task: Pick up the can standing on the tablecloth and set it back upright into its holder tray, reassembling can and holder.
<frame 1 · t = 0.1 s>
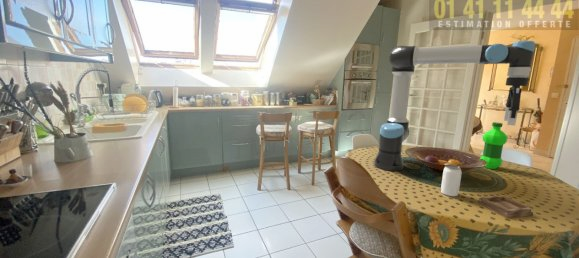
hand: (509, 123, 120), 28 cm above the table, fingers open, 13 cm apart
plastic bottle: (489, 167, 142), on the table
can: (449, 193, 110), on the table
holder: (503, 208, 97), on the table
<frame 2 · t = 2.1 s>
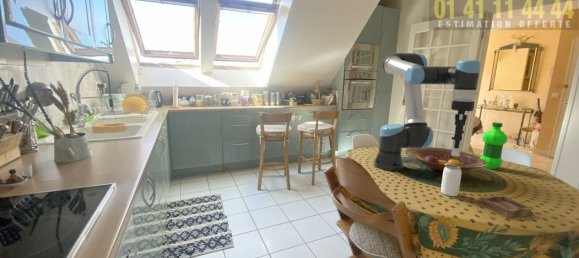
hand: (455, 151, 106), 19 cm above the table, fingers open, 13 cm apart
nothing on the table moved.
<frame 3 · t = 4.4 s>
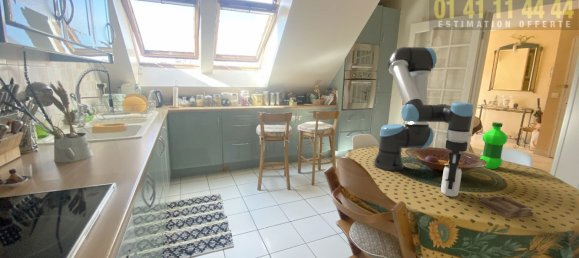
hand: (449, 192, 110), 0 cm above the table, fingers closed on can, 6 cm apart
can: (449, 193, 110), on the table, touching gripper
everything else where it was.
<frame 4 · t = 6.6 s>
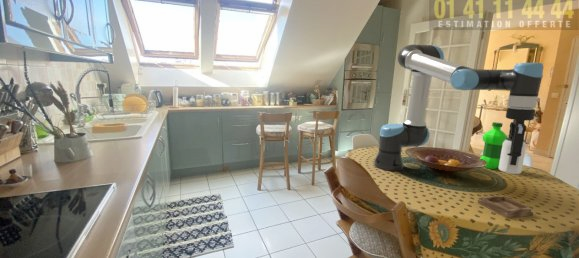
hand: (509, 170, 94), 15 cm above the table, fingers closed on can, 6 cm apart
can: (509, 171, 94), point 15 cm above the table, touching gripper
everything else where it was.
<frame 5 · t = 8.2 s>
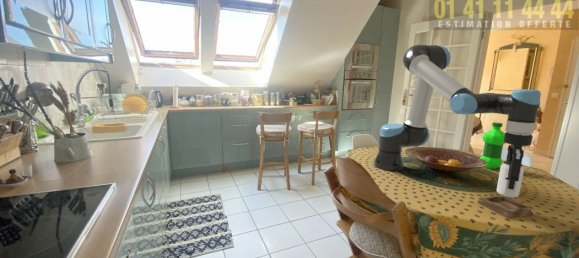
hand: (507, 192, 96), 7 cm above the table, fingers closed on can, 6 cm apart
can: (507, 194, 96), point 6 cm above the table, touching gripper
everything else where it was.
when the fingers open (3 cm above the table, at t = 9.2 s): can drops 2 cm, resting on holder.
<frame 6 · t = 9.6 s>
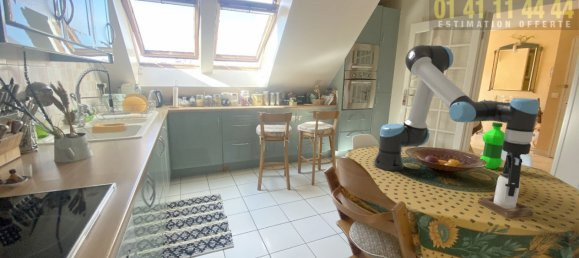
hand: (506, 196, 96), 5 cm above the table, fingers open, 12 cm apart
can: (503, 206, 97), point 1 cm above the table, touching holder
everything else where it was.
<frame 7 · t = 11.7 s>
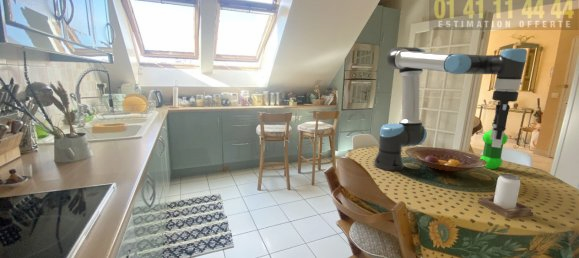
hand: (495, 143, 104), 23 cm above the table, fingers open, 13 cm apart
nothing on the table moved.
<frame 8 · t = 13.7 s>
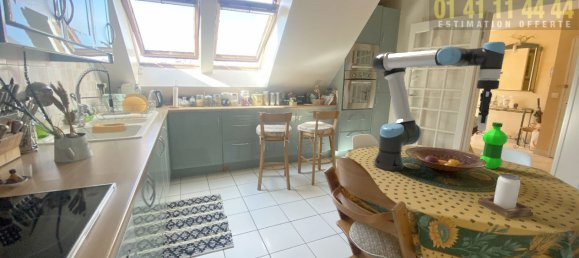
hand: (480, 128, 114), 27 cm above the table, fingers open, 13 cm apart
nothing on the table moved.
at the end: can 0.1 cm off-centre on the holder, point 0.8 cm above the holder's base; can tilted 0°; the gripper is holding nothing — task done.
